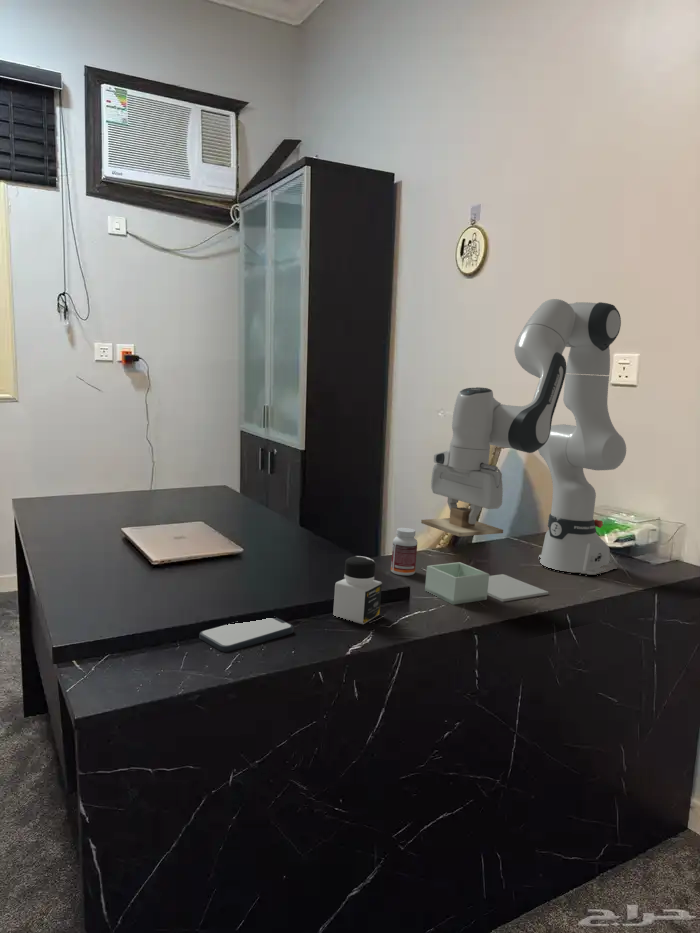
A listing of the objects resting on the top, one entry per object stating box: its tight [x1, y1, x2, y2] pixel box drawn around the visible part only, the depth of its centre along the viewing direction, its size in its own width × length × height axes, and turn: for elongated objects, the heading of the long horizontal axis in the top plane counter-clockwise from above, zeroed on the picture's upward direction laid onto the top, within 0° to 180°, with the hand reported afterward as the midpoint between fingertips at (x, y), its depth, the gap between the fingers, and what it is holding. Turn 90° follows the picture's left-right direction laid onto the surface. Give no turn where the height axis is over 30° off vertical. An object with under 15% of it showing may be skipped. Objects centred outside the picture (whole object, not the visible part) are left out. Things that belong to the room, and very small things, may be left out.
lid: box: [420, 506, 504, 537], centre depth 153 cm, size 13×13×4 cm
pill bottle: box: [390, 527, 418, 576], centre depth 170 cm, size 6×6×11 cm
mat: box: [487, 573, 549, 603], centre depth 163 cm, size 15×15×1 cm
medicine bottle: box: [332, 555, 383, 625], centre depth 137 cm, size 7×7×12 cm
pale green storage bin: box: [424, 561, 490, 606], centre depth 155 cm, size 10×10×6 cm
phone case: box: [198, 617, 294, 653], centre depth 124 cm, size 9×2×16 cm
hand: (462, 520), depth 153 cm, fingers closed on lid, 4 cm apart
